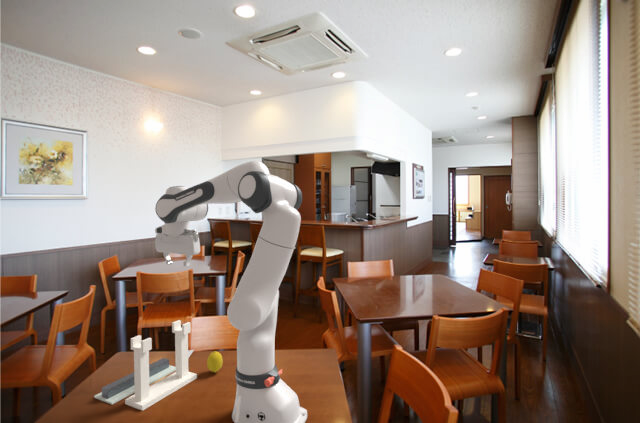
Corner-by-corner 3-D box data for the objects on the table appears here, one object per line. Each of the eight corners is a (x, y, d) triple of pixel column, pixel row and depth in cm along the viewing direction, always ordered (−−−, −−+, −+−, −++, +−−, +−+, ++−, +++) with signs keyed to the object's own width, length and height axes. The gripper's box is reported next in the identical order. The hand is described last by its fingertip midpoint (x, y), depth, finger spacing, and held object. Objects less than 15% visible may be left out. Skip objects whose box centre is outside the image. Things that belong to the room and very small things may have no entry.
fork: (194, 356, 152) (194, 349, 152) (185, 373, 132) (185, 366, 132) (187, 356, 152) (187, 349, 152) (177, 374, 131) (177, 366, 132)
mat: (178, 369, 135) (178, 367, 135) (111, 404, 111) (111, 402, 111) (161, 364, 139) (161, 362, 139) (94, 397, 115) (94, 395, 115)
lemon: (218, 376, 129) (218, 355, 128) (204, 375, 130) (204, 353, 129) (225, 369, 134) (225, 348, 134) (211, 368, 135) (211, 347, 135)
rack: (196, 378, 128) (196, 321, 127) (142, 410, 108) (141, 343, 107) (180, 373, 131) (179, 318, 131) (125, 404, 112) (123, 339, 111)
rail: (169, 367, 135) (169, 359, 135) (107, 398, 113) (107, 389, 113) (163, 365, 136) (163, 357, 136) (101, 396, 115) (101, 387, 115)
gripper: (203, 229, 134) (204, 265, 134) (165, 227, 143) (166, 261, 143) (191, 230, 128) (191, 268, 128) (151, 228, 137) (152, 264, 138)
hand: (177, 265), depth 136 cm, fingers open, 8 cm apart
